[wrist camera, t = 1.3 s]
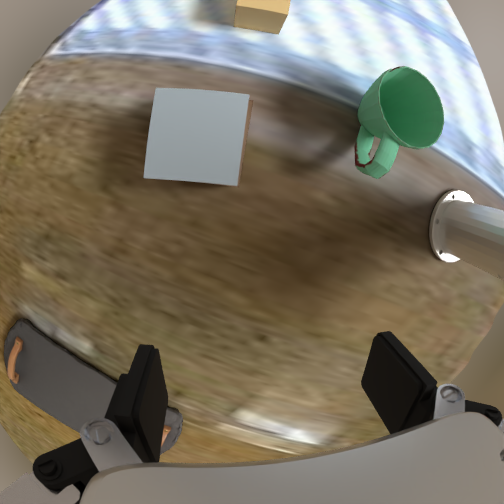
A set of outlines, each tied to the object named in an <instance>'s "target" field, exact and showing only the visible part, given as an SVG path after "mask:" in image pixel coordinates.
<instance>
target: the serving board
mask: <svg viewBox="0 0 504 504" xmlns="http://www.w3.org/2000/svg"><path fill="white" fill-rule="evenodd" d="M4 359H5V365H6V369H7V373H8V377H9V379H10V382H11V384H12V386H13V388H14V389H15V390H16V391H17V392H18V393H19V394H21V395H22V396H24V397H25V398H26V399H27V400H29V401H30V402H32V403H33V404H35V405H36V406H37V407H39V408H40V409H42V410H43V411H45V412H46V413H48V414H49V415H51V416H53V417H54V418H56V419H57V420H59V421H60V422H62V423H63V424H65V425H67V426H69V427H70V428H72V429H73V430H75V431H77V432H79V433H80V430H81V428H82V426H83V425H84V424H85V423H86V422H87V421H89V420H91V419H95V418H104V417H105V414H106V412H107V409H108V406H109V403H110V401H111V398H112V395H113V393H114V390H115V388H116V385H117V382H115V381H114V380H112V379H111V378H109V377H108V376H107V375H105V374H103V373H101V372H100V371H99V370H97V369H95V368H93V367H91V366H89V365H88V364H86V363H85V362H83V361H81V360H79V359H78V358H77V357H75V356H74V355H73V354H71V353H70V352H69V351H68V350H66V349H65V348H63V347H60V346H59V345H57V344H55V343H54V342H53V341H52V340H51V339H49V338H47V337H46V336H45V335H44V334H42V333H41V332H40V331H38V330H37V329H36V328H34V327H33V326H32V324H31V322H30V321H29V320H28V319H25V320H24V319H22V318H21V319H19V320H17V321H16V323H15V325H14V326H13V327H11V328H10V331H9V332H8V335H7V338H6V339H5V345H4ZM182 422H183V418H182V414H181V413H179V410H178V409H176V408H169V407H167V411H166V417H165V423H164V430H163V437H162V444H161V451H160V455H161V454H162V453H164V452H165V451H167V450H169V449H170V448H171V447H172V446H173V445H174V444H175V443H176V442H177V439H178V437H179V435H180V434H181V431H182V428H181V427H182Z"/></svg>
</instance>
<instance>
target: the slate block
mask: <svg viewBox="0 0 504 504" xmlns="http://www.w3.org/2000/svg"><path fill="white" fill-rule="evenodd" d="M248 101H249V95H248V94H240V93H232V92H223V91H212V90H199V89H180V88H156V91H155V96H154V102H153V108H152V114H151V120H150V127H149V134H148V142H147V150H146V159H145V168H144V178H150V179H166V180H179V181H192V182H203V183H214V184H224V185H233V186H237V184H238V176H239V168H240V160H241V153H242V145H243V138H244V130H245V123H246V116H247V108H248Z"/></svg>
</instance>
